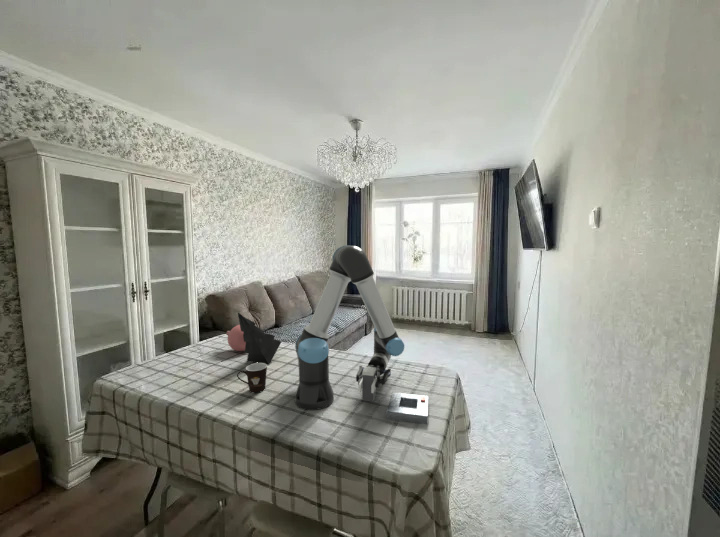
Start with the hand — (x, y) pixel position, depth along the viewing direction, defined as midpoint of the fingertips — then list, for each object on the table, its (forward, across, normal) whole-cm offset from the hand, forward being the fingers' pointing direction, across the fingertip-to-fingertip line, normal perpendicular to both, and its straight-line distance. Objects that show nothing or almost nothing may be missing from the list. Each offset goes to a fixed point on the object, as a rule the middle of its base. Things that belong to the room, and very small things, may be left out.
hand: (366, 388), depth 110 cm
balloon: (-50, +88, -11) cm, 102 cm away
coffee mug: (-8, +51, -11) cm, 53 cm away
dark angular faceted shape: (-34, +66, -11) cm, 75 cm away
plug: (-5, 0, -6) cm, 8 cm away
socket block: (-5, -15, -9) cm, 18 cm away
